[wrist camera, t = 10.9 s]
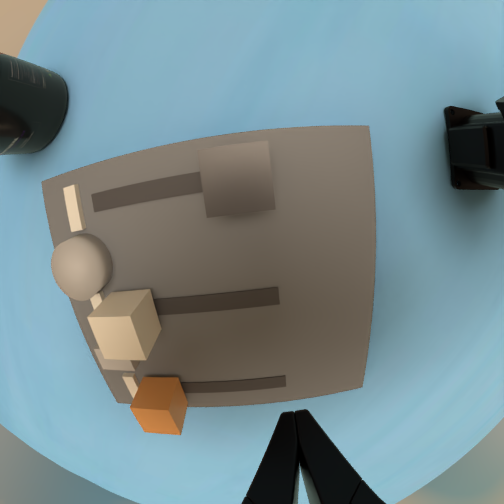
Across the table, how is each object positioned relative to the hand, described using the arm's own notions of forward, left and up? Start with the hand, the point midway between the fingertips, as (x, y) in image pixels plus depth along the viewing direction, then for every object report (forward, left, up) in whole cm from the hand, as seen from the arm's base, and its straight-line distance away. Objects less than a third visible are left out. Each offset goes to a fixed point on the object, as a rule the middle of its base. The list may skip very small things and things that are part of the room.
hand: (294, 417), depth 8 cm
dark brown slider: (+1, -7, -10) cm, 12 cm away
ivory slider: (+9, 0, -10) cm, 13 cm away
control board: (+4, 0, -12) cm, 12 cm away
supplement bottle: (+16, -16, -12) cm, 25 cm away
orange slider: (+9, +8, -10) cm, 15 cm away
